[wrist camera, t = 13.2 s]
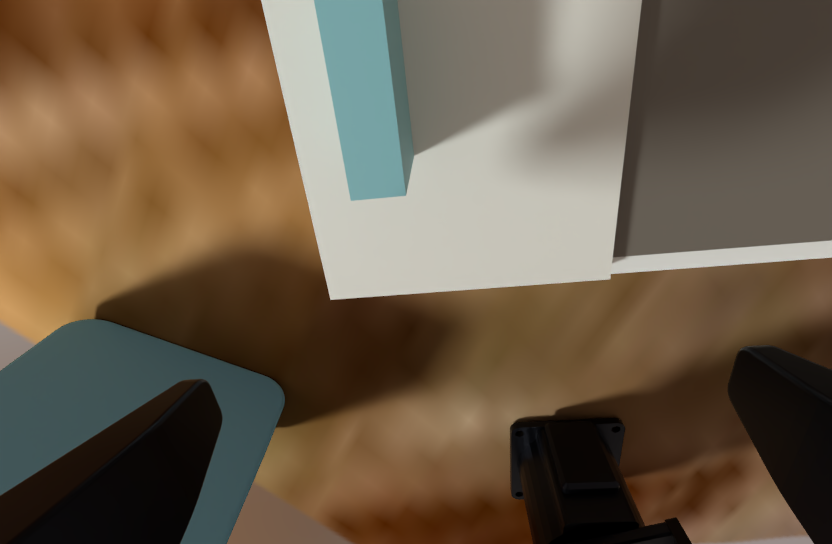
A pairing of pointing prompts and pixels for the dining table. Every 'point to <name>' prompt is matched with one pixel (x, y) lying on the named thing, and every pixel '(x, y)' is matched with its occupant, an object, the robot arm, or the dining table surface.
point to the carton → (728, 136)
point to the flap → (458, 137)
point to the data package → (132, 409)
